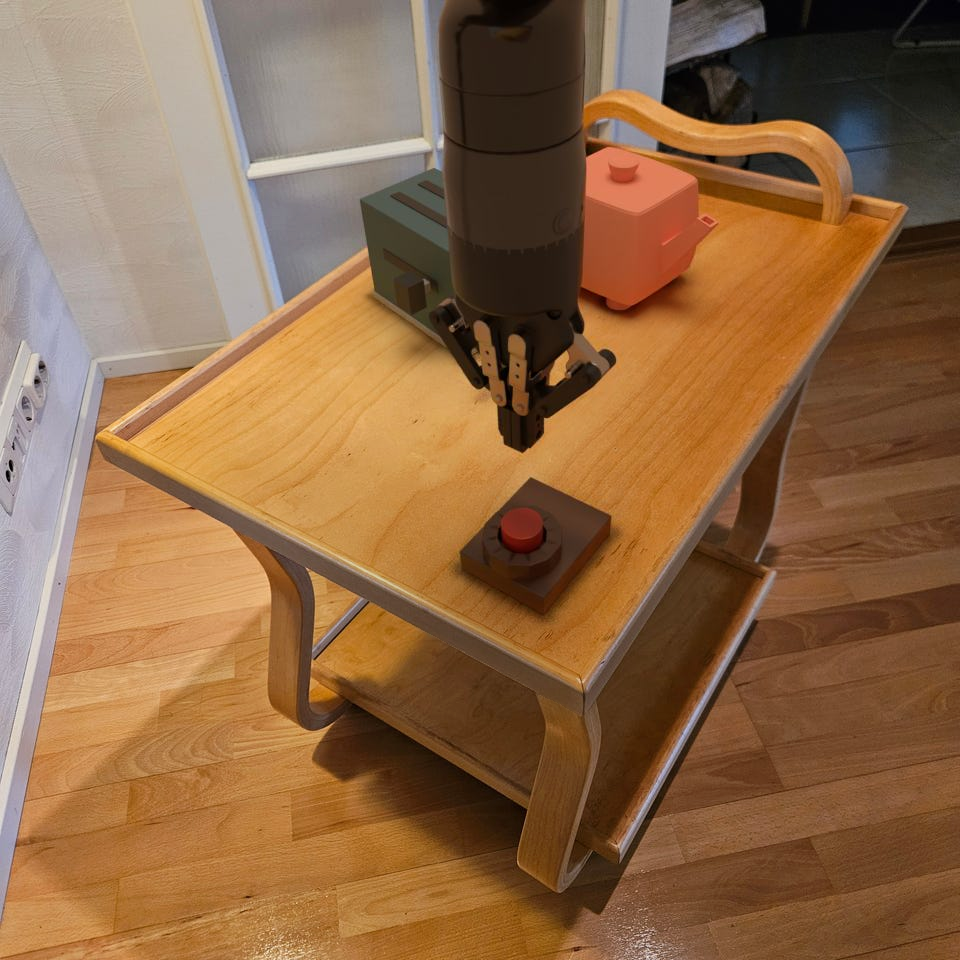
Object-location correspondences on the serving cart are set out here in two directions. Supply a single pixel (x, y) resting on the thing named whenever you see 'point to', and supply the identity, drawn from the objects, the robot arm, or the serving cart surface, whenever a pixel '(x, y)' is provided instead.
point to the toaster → (409, 242)
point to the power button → (522, 530)
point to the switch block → (554, 562)
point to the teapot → (638, 225)
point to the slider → (411, 292)
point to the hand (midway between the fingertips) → (521, 442)
